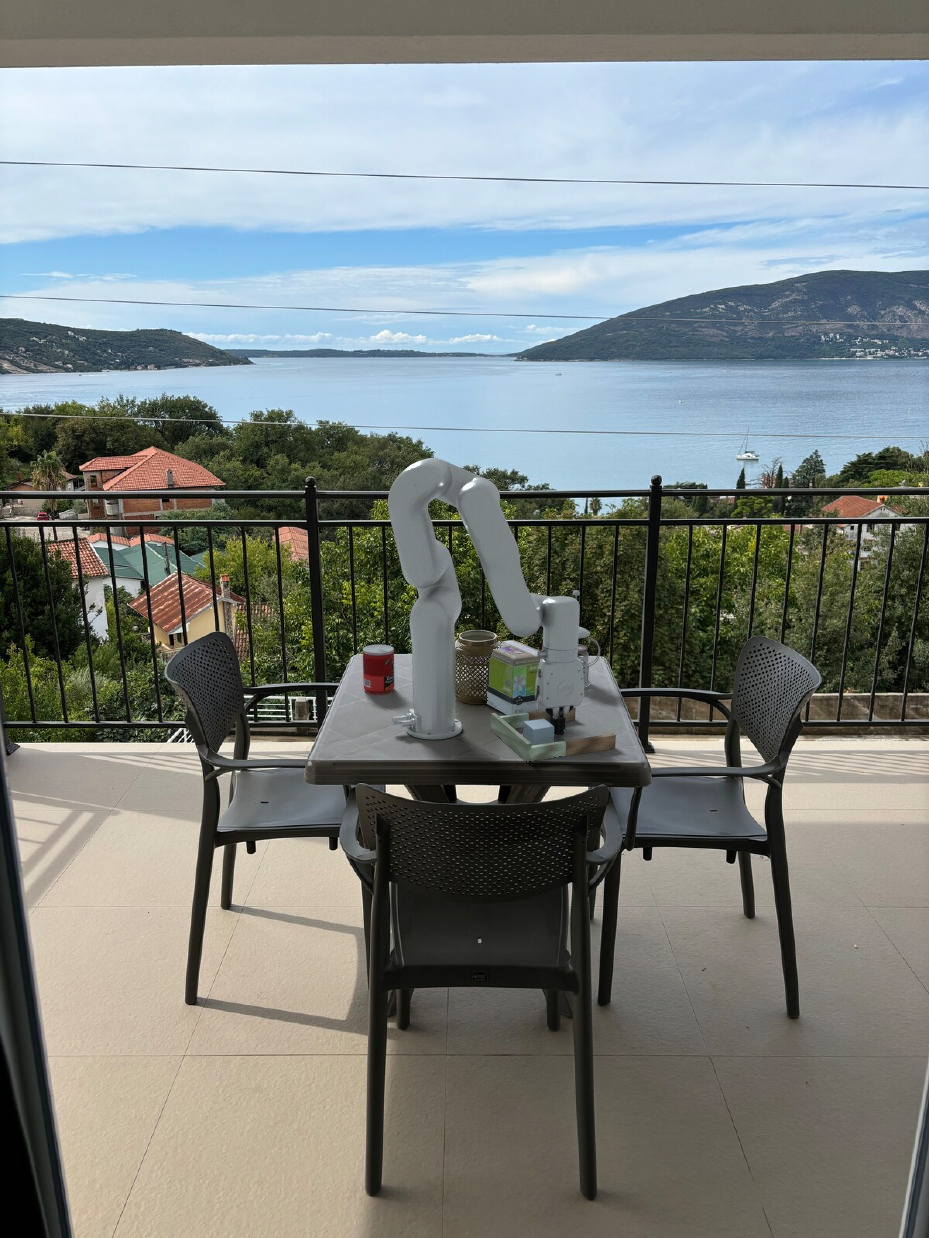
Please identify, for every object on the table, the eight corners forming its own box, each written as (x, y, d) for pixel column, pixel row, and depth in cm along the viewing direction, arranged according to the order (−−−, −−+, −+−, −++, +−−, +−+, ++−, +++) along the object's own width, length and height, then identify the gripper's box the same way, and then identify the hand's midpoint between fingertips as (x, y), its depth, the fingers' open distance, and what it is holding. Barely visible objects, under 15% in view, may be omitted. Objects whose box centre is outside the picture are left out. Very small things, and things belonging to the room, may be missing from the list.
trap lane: (526, 762, 180) (527, 744, 179) (490, 729, 197) (490, 713, 196) (615, 748, 187) (616, 730, 186) (573, 718, 204) (573, 702, 203)
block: (532, 746, 188) (533, 729, 187) (523, 738, 192) (523, 721, 191) (553, 743, 189) (554, 726, 188) (543, 735, 194) (544, 718, 193)
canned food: (390, 695, 219) (390, 653, 216) (359, 693, 220) (358, 651, 217) (397, 685, 226) (397, 645, 224) (367, 684, 228) (367, 643, 225)
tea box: (546, 712, 208) (548, 653, 204) (511, 719, 203) (512, 659, 200) (512, 694, 221) (514, 637, 217) (478, 700, 216) (479, 643, 212)
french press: (552, 676, 235) (556, 585, 228) (596, 677, 234) (600, 586, 228) (555, 688, 225) (558, 594, 219) (600, 689, 225) (604, 594, 218)
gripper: (536, 662, 182) (534, 744, 186) (599, 655, 187) (595, 735, 192) (521, 652, 188) (519, 732, 193) (582, 646, 194) (578, 723, 198)
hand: (557, 733), depth 192 cm, fingers closed
